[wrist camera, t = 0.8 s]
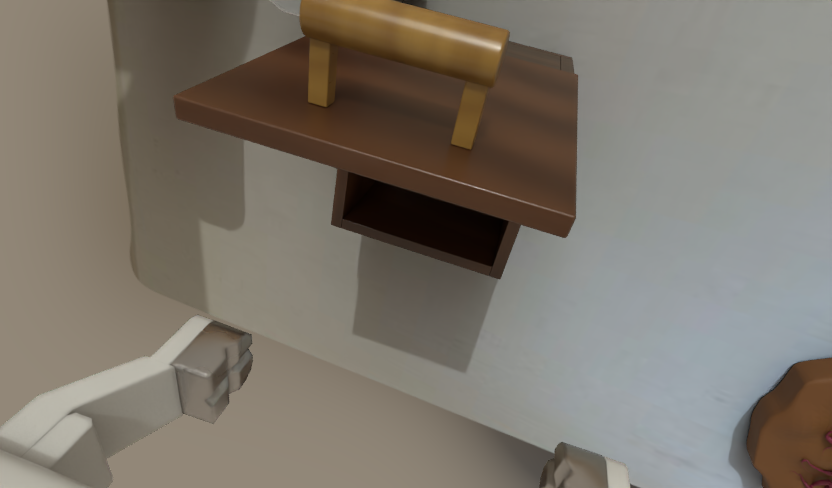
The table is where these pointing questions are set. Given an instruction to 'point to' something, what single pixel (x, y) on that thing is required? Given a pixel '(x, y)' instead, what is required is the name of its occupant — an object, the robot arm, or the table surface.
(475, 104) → the lid
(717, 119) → the table surface
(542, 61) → the box
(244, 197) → the table surface
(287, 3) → the cup
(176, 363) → the robot arm
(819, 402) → the plant
